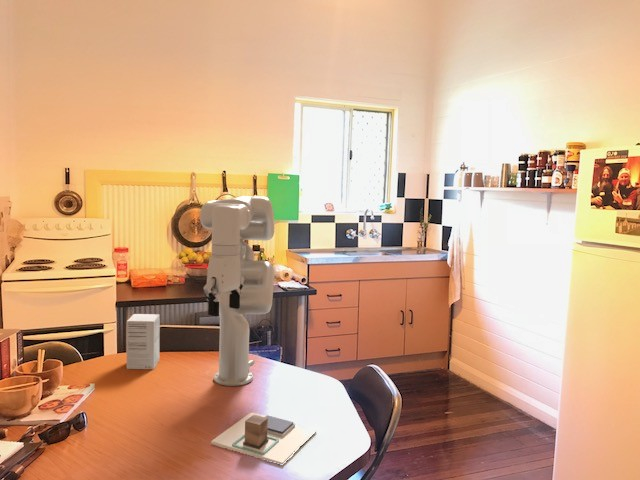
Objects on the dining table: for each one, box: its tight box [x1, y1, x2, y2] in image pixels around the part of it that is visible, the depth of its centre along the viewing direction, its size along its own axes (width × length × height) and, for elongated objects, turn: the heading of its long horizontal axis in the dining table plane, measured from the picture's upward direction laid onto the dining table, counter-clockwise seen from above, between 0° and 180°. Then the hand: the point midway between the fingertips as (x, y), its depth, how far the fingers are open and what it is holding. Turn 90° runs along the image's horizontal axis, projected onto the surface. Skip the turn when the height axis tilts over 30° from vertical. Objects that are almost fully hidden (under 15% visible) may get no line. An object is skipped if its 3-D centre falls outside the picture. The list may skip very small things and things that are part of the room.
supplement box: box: [125, 313, 161, 370], centre depth 173 cm, size 10×9×17 cm
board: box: [210, 411, 309, 464], centre depth 127 cm, size 18×20×2 cm
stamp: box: [243, 415, 269, 449], centre depth 123 cm, size 4×4×6 cm
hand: (224, 311), depth 139 cm, fingers open, 9 cm apart
